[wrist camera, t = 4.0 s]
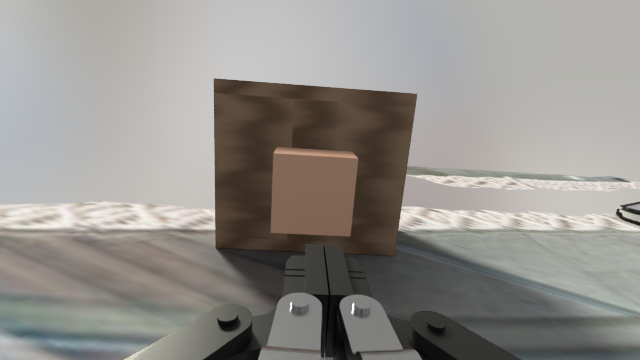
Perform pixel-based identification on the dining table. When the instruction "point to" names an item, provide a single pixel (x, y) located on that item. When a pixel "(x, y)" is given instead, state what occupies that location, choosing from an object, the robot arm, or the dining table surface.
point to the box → (308, 133)
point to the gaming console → (630, 213)
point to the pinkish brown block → (313, 191)
